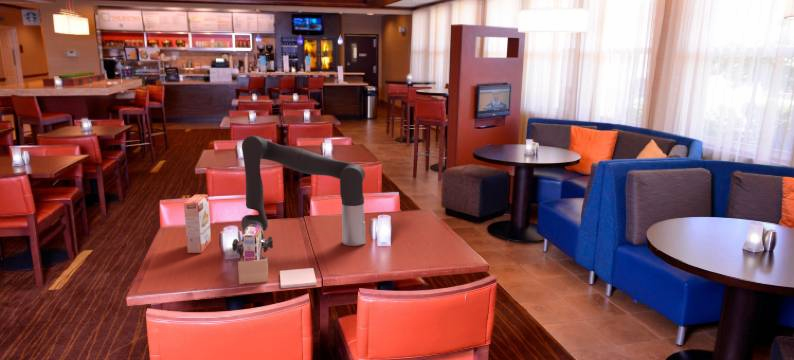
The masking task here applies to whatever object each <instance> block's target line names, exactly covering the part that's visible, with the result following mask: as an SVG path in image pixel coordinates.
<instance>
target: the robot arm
mask: <svg viewBox="0 0 794 360" xmlns="http://www.w3.org/2000/svg"><path fill="white" fill-rule="evenodd" d="M241 151H242V158H243V162H244V163H243V164H244V172H245V175H244V176H245V206H246V208H247V209H249V210H254V211H257V213H258V214H246V215H244V216H242V218H241V223H240V226H241V229H242V231H243V234H244V233H245V231H246V229H247V228H248V227H261V239H262V250H263V253H266V252H267V251H268V250H269V249H273V248H274V244H273V237H272V236H268V237H267V238H264V237H265V235H264V232H265V231H266V230H267V229H268V226H269V223H268V218H267V214H266V211H265V207H264V206H265V205H264V184H263V179H262V175H261V174H262V173H261V160H268V161H271V162H276V163H279V164H280V165H282V166H284V167H287V168H289V169H291V170H293V171H297V172H299V173H302V174H307V175H314V176H327V177H332V178H335V179H339V191H340V193H339V196H340V199H341V229H342V230H341V232H342V233H341V234H342V237H341V238H342V239H341V240H342V244H343V245H345V246H349V247H357V246H362V245H365V244H366V220H365V196H364V194H363V193H364V190H363V189H364V188H363V181H365V177H366V172H365V169H364V168H363V167H362V166H361V165H359V164H357V163H355V162H354V163H353V162H348V161H343V160H338V159H334V158H330V157H328V156H325V155H322V154H318V153H316V152H313V151H310V150H306V149H302V148H299V147H293V146H286V145H282V144H278V143H275V142H273V141H270V140H268V139H265V138H264V137H263V136H262V137H261V136H257V135H249V136H247V137H245V138H244V139H243V141H242V143H241ZM231 246H232V247H231V248H232V251H233V252H235V251H236V253H237V254H238V255H241V254H242V252H243V240H242V239H241V240H238V238H234V239H233V240H232V245H231Z"/></svg>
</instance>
